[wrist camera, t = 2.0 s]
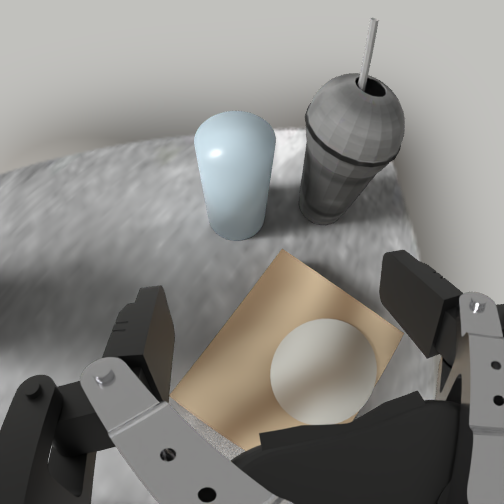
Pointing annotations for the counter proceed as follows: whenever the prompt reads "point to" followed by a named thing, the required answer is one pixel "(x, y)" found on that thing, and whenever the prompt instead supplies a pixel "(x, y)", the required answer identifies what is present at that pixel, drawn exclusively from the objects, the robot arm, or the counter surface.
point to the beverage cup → (348, 139)
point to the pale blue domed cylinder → (235, 171)
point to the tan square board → (288, 357)
